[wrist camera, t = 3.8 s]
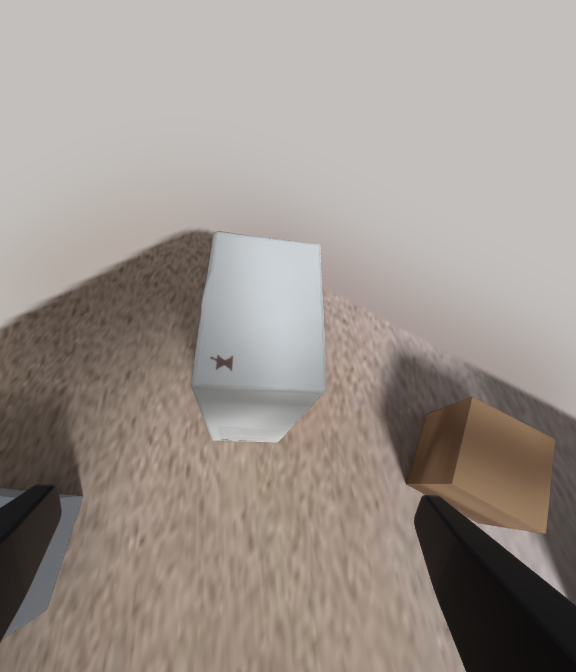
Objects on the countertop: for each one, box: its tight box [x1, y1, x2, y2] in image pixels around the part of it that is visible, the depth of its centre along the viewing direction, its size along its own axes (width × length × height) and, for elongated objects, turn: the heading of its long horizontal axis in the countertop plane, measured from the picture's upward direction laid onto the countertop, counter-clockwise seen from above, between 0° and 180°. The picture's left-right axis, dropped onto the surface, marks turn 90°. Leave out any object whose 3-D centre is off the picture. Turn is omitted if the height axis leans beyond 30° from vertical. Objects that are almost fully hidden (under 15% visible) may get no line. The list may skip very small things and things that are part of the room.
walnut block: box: [406, 397, 556, 534], centre depth 20 cm, size 5×5×5 cm
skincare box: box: [191, 231, 326, 443], centre depth 16 cm, size 6×4×12 cm
